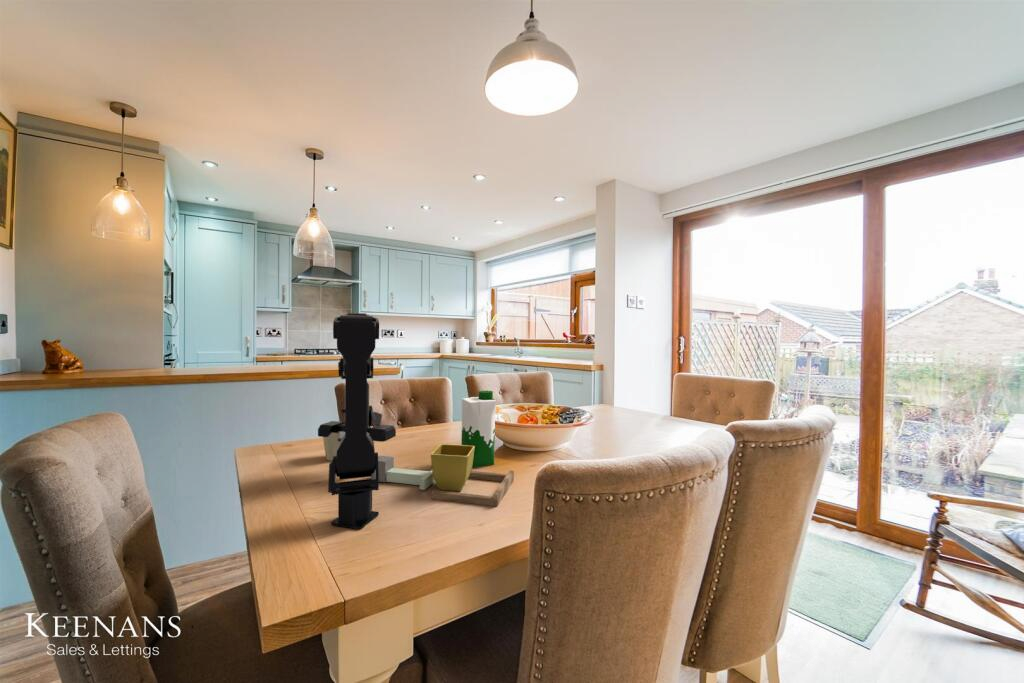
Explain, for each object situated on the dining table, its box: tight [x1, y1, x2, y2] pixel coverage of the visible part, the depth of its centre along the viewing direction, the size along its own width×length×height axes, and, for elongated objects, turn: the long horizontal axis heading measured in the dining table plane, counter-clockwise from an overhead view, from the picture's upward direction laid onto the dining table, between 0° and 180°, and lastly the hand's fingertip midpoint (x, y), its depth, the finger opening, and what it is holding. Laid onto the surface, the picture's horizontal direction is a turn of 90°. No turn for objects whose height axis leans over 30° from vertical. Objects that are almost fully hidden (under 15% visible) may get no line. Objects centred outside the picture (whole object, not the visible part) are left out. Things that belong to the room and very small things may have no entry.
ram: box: [369, 455, 435, 491], centre depth 100 cm, size 8×15×5 cm, turn 77°
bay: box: [431, 470, 515, 507], centre depth 96 cm, size 15×15×2 cm
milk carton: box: [461, 390, 498, 468], centre depth 116 cm, size 9×9×20 cm
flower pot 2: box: [430, 443, 475, 492], centre depth 97 cm, size 9×9×9 cm
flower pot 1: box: [322, 433, 340, 462], centre depth 118 cm, size 9×9×9 cm
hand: (356, 464), depth 103 cm, fingers closed
